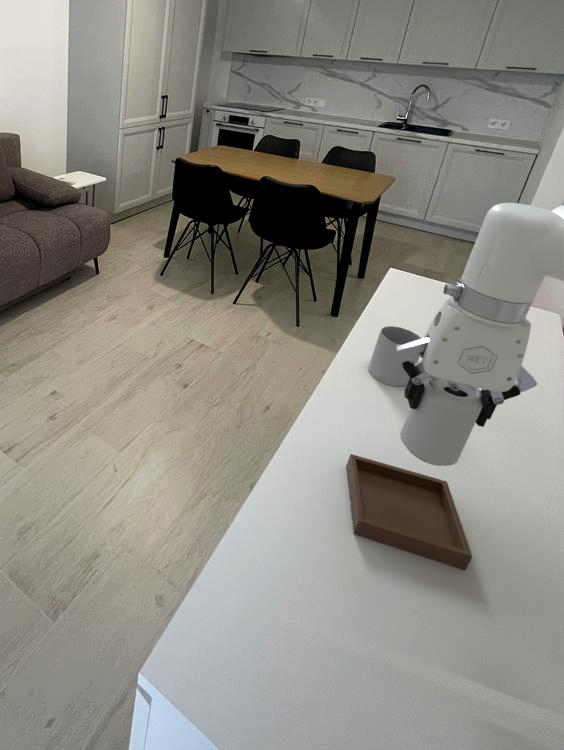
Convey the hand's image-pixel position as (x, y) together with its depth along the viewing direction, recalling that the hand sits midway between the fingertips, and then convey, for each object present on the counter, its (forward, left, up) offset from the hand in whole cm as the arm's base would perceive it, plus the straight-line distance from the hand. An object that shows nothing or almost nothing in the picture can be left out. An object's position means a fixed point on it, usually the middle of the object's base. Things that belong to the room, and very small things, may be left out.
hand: (443, 410), depth 69 cm
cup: (-4, -39, -20) cm, 44 cm away
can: (0, 0, -7) cm, 7 cm away
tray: (0, 0, -20) cm, 20 cm away
